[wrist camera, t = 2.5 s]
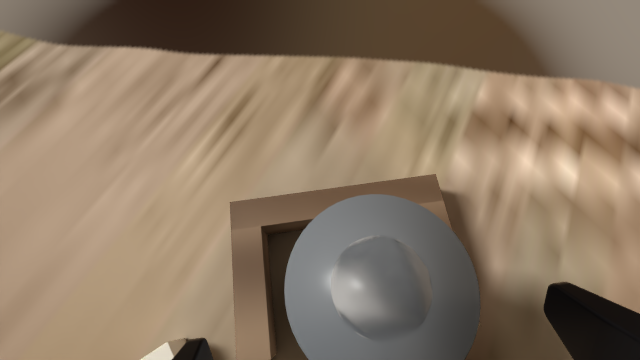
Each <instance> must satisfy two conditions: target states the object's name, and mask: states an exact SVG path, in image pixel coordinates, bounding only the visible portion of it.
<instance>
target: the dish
mask: <svg viewBox="0 0 640 360" xmlns="http://www.w3.org/2000/svg"><path fill="white" fill-rule="evenodd" d="M186 342H187V341H186V339H185V338H184V339H179V340H174V341H169V342H166V343H165V344H163V345H162V346H160V347H159V348H157V349H156V350H154V351H153V352H151V353H150V354H148V355H146V356H145V357H143V358H142V359H140V360H172V359H173V357H174V356H175V355H176V354H177V353H178V351H179V350H180V349H181V348H182V347H183V345H184V344H185V343H186Z"/></svg>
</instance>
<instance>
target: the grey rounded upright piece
mask: <svg viewBox="0 0 640 360" xmlns="http://www.w3.org/2000/svg"><path fill="white" fill-rule="evenodd" d="M284 294H285V306H286V311H287V316H288V320H289V323H290V326H291V329H292V332H293V334H294V336H295V338H296V340H297V342H298V344H299V346H300V348H301V349H302V351H303V352H304V354H305V355H306V357H307V358H308V359H309V360H465V358H466V356H467V354H468V352H469V351H470V349H471V347H472V344H473V341H474V339H475V336H476V333H477V328H478V324H479V317H480V291H479V285H478V280H477V276H476V273H475V269H474V266H473V264H472V261H471V259H470V257H469V255H468V253H467V251H466V249H465V247H464V246H463V244H462V243H461V241H460V240H459V238H458V237H457V236H456V234H455V233H454V232H453V231H452V230H451V229H450V228H449V226H448V225H447V224H446V223H445V222H443V221H442V220H441V219H440V218H439V217H438V216H436V215H435V214H434V213H432V212H431V211H429V210H428V209H426V208H424V207H422V206H420V205H419V204H417V203H414V202H412V201H409V200H407V199H404V198H400V197H396V196H391V195H383V194H368V195H360V196H355V197H351V198H348V199H345V200H343V201H340V202H337V203H336V204H334V205H332V206H330V207H328V208H327V209H325V210H324V211H323V212H321V213H320V214H318V215H317V216H316V217H315V218H314V219H313V220H312V221H311V222H310V223H309V224H308V226H307V227H306V228H305V229H304V230H303V232H302V233H301V235H300V236H299V238H298V240H297V241H296V243H295V245H294V248H293V250H292V252H291V255H290V258H289V261H288V264H287V269H286V275H285V287H284Z"/></svg>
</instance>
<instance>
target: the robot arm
mask: <svg viewBox="0 0 640 360" xmlns="http://www.w3.org/2000/svg"><path fill="white" fill-rule="evenodd" d="M544 312H545V315H546V317H547V319H548V320H549V322H550V323H551V325H552V326H553V328H554V330H555V331H556V333H557V334H558V336H559V337H560V339H561V340H562V342H563V344H564V345H565V347H566V348H567V350H568V351H569V353H570V355H571V356H572V358H573V359H574V360H640V314H639V313H637V312H634V311H632V310H630V309H628V308H625V307H623V306H621V305H619V304H616V303H614V302H612V301H610V300H607V299H605V298H603V297H600V296H598V295H596V294H594V293H591V292H589V291H587V290H585V289H582V288H580V287H578V286H576V285H573V284H571V283H568V282H560V283H553V284H550V285H549V287H548V290H547V294H546V298H545V303H544ZM172 360H213V357H212V354H211V351H210V348H209V345H208V343H207V340H206V339H205V338H197V339H190V340H188V341H187V342H186V343H185V344H184V345H183V347H182V348H181V349H180V350H179V351H178V353H177V354H176V355H175V356H174V357H173V359H172Z"/></svg>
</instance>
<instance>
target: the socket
mask: <svg viewBox="0 0 640 360" xmlns="http://www.w3.org/2000/svg"><path fill="white" fill-rule="evenodd" d="M368 194H383V195H391V196H396V197H400V198H404V199H407V200H409V201H412V202H414V203H417V204H419V205H420V206H422V207H424V208H426V209H428V210H429V211H431V212H432V213H434V214H435V215H436V216H438V217H439V218H440V219H441V220H442V221H443V222H445V223H446V224H447V225H448V226H449V228H450V229H451V230H452V227H451V224H450V220H449V217H448V214H447V210H446V207H445V204H444V200H443V197H442V194H441V190H440V187H439V184H438V180H437V177H436V174H433V175H426V176H418V177H411V178H404V179H396V180H389V181H382V182H374V183H367V184H360V185H352V186H345V187H338V188H331V189H323V190H316V191H309V192H301V193H294V194H287V195H279V196H272V197H265V198H257V199H250V200H243V201H236V202H230V216H231V241H232V266H233V291H234V316H235V341H236V360H271V359H272V358H273V357H274V356H275V355H276V354H277V349H276V337H275V325H274V312H273V300H272V288H271V276H270V264H269V251H268V239H267V235H269V234H276V233H283V232H290V231H297V230H304V229H305V228H306V227H307V226H308V224H309V223H310V222H311V221H312V220H313V219H314V218H315V217H316V216H317V215H318V214H320V213H321V212H323V211H324V210H325V209H327V208H328V207H330V206H332V205H334V204H336V203H337V202H340V201H343V200H345V199H348V198H351V197H355V196H360V195H368ZM452 231H453V230H452ZM478 326H481V324H480V321H479V324H478Z"/></svg>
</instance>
